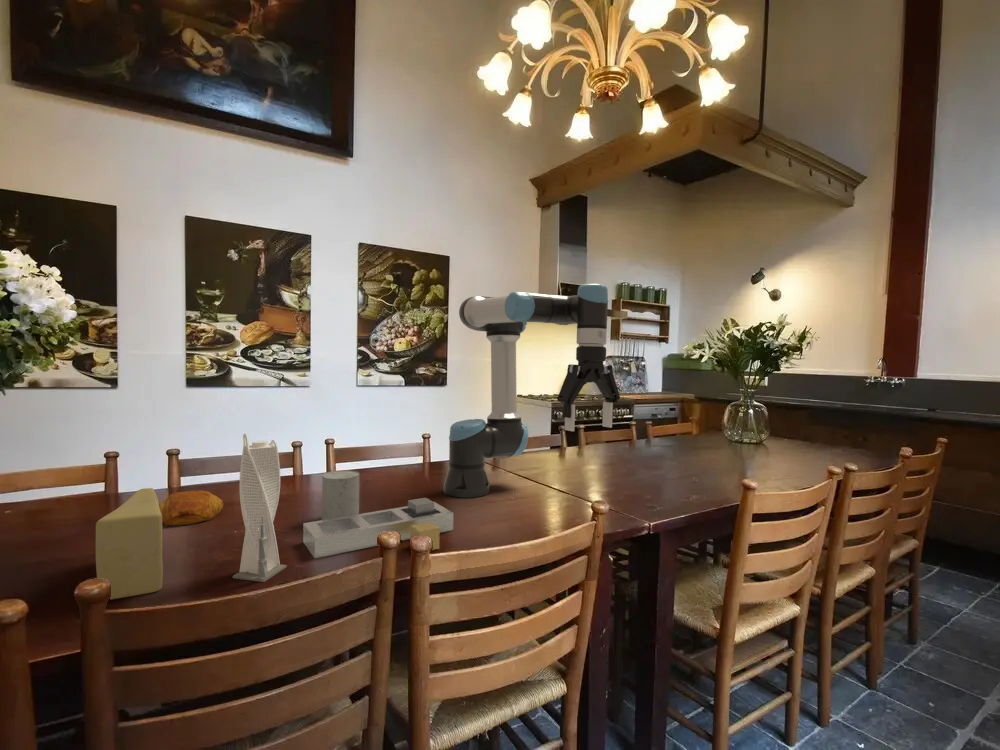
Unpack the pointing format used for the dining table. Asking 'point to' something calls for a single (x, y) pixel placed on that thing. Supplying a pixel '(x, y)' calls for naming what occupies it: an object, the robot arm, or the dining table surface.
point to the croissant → (189, 507)
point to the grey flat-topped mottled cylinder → (340, 494)
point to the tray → (372, 527)
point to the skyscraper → (259, 510)
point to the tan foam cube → (426, 532)
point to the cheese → (131, 546)
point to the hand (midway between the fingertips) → (588, 428)
